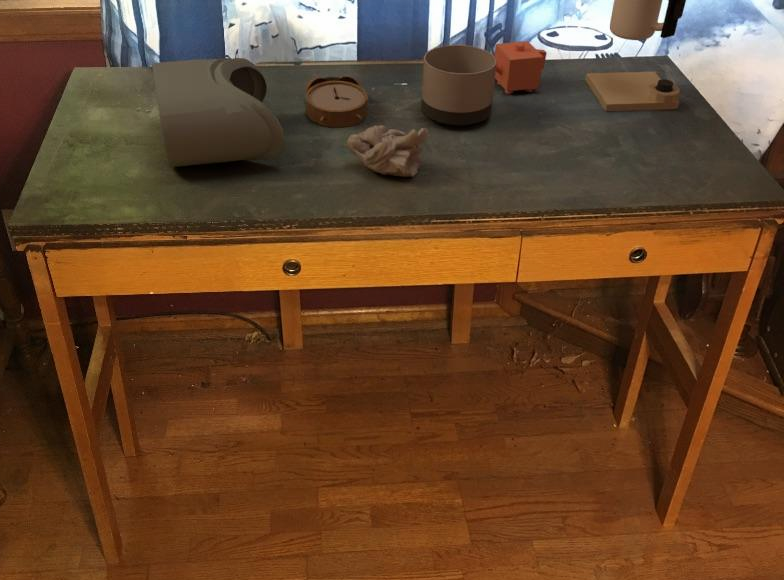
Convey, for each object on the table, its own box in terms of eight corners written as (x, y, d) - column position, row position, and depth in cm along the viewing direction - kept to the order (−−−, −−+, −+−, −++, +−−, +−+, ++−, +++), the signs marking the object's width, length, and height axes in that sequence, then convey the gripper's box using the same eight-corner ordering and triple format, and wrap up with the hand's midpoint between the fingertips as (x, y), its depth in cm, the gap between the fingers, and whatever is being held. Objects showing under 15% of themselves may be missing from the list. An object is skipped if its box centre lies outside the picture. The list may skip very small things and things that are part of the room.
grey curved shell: (162, 123, 154) (150, 51, 145) (267, 113, 157) (262, 42, 148) (171, 184, 138) (158, 107, 129) (287, 171, 142) (283, 96, 133)
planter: (498, 129, 154) (504, 72, 147) (428, 133, 153) (431, 75, 145) (481, 98, 163) (486, 43, 156) (415, 102, 162) (417, 46, 155)
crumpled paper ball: (427, 125, 134) (366, 91, 137) (394, 182, 136) (335, 147, 139) (441, 140, 142) (383, 107, 145) (410, 194, 144) (354, 160, 147)
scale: (680, 110, 162) (684, 94, 159) (606, 112, 160) (609, 96, 158) (654, 78, 172) (658, 63, 170) (585, 80, 171) (587, 65, 168)
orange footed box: (476, 81, 169) (480, 39, 164) (533, 75, 172) (538, 33, 166) (490, 98, 164) (494, 54, 158) (548, 92, 166) (554, 49, 160)
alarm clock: (309, 114, 151) (300, 65, 159) (310, 138, 154) (300, 89, 163) (372, 111, 152) (359, 62, 161) (371, 134, 156) (359, 86, 165)
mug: (681, 38, 156) (696, -22, 149) (656, 51, 151) (670, -11, 144) (624, 20, 162) (637, -38, 155) (599, 32, 157) (611, -29, 150)
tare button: (673, 93, 161) (675, 85, 160) (659, 93, 160) (661, 85, 159) (668, 87, 163) (670, 79, 162) (654, 87, 162) (656, 79, 161)
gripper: (605, -125, 146) (582, 7, 161) (711, -91, 132) (675, 51, 146) (637, -130, 149) (612, 0, 164) (745, -97, 134) (706, 43, 149)
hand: (642, 24), depth 155 cm, fingers closed on mug, 12 cm apart
